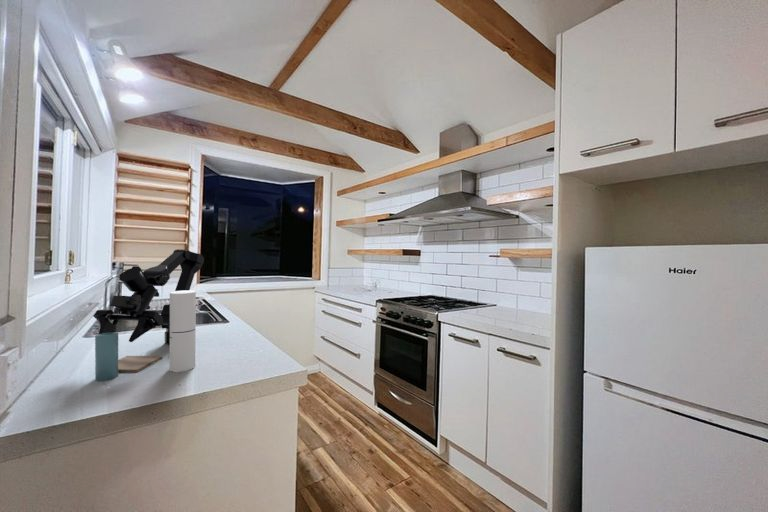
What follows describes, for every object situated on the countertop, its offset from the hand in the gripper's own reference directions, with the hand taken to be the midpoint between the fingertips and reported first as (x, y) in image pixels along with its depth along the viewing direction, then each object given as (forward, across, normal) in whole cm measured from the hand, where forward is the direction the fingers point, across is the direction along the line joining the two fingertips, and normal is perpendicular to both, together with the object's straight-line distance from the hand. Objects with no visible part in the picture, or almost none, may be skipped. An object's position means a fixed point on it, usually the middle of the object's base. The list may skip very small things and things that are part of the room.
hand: (114, 341), depth 98 cm
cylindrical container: (+4, +18, +11) cm, 21 cm away
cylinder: (+9, 0, +5) cm, 10 cm away
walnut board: (+2, 0, +12) cm, 12 cm away
